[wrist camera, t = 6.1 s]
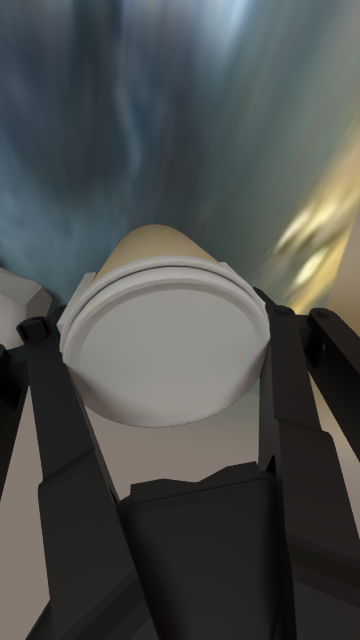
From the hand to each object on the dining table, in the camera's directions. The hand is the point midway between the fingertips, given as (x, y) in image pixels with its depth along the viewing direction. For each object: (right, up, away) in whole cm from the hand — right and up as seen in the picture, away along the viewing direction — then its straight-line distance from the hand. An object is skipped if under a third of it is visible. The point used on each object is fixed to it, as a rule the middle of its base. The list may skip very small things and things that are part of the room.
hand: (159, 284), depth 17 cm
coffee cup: (-1, +2, +3) cm, 3 cm away
